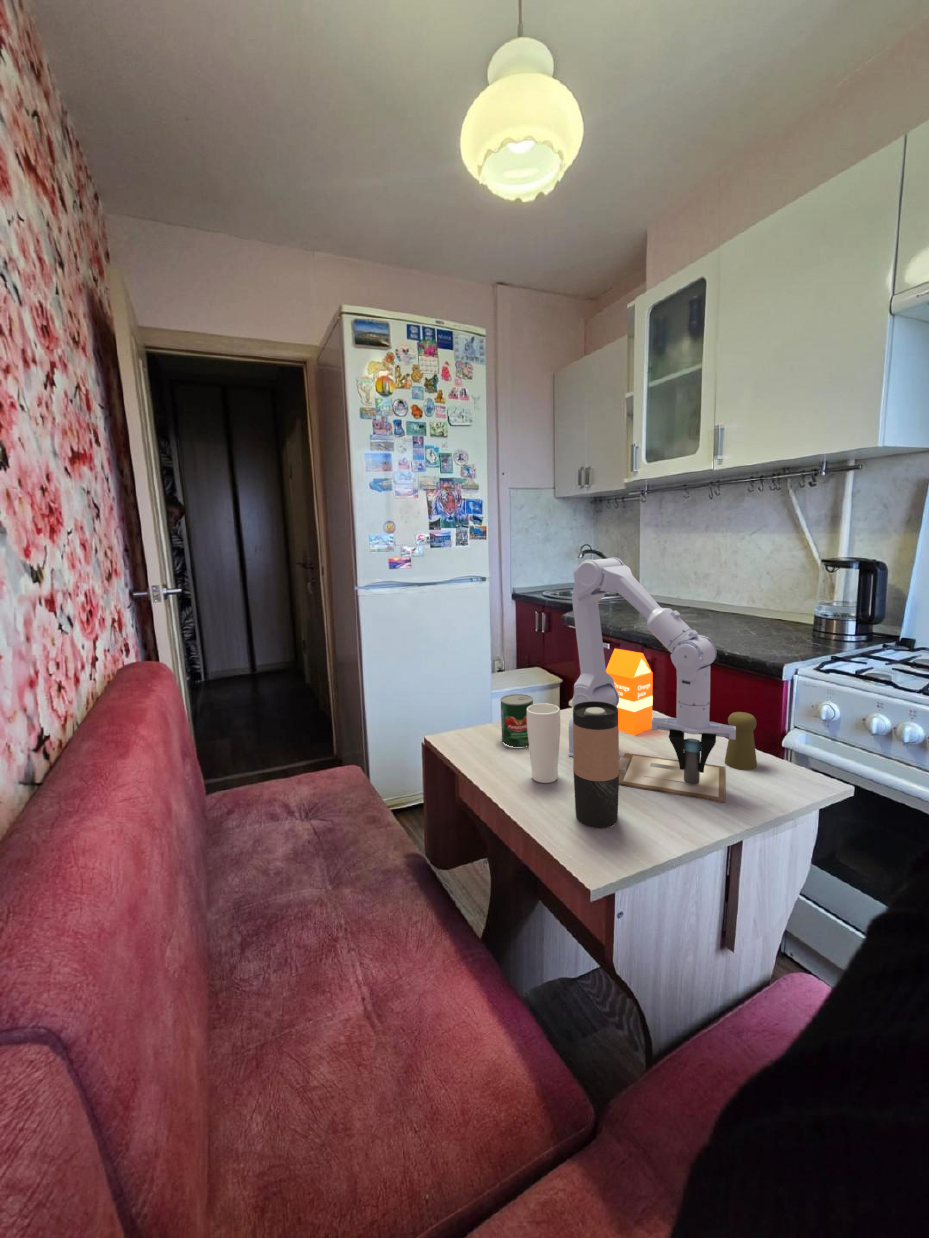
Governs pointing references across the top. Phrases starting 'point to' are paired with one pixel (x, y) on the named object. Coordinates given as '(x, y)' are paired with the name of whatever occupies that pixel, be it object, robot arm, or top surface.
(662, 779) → the clipboard
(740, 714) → the cork
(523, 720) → the canned tomato
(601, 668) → the robot arm
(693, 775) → the marker
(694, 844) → the top surface
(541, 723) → the drinking glass
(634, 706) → the orange juice
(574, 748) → the travel mug
